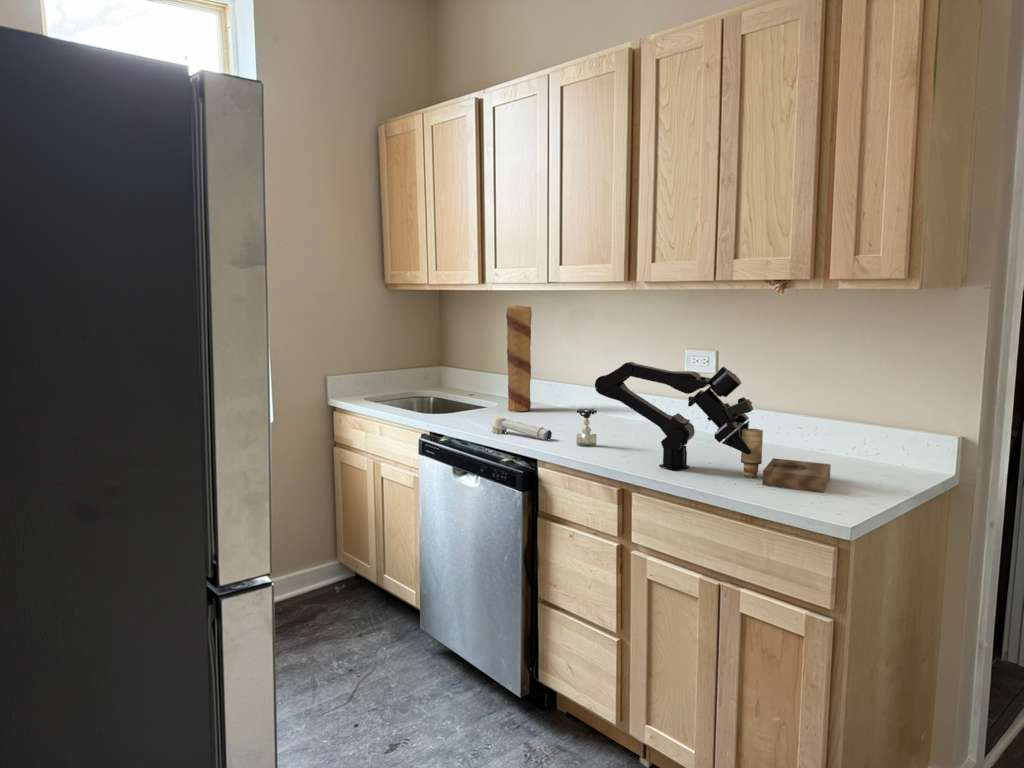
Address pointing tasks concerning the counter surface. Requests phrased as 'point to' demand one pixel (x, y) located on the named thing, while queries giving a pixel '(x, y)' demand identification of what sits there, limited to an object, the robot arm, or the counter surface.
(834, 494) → the counter surface
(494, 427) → the off-white plastic cylinder
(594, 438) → the valve
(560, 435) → the counter surface
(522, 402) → the wafer roll
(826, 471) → the seat block
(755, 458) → the dowel
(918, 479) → the counter surface
